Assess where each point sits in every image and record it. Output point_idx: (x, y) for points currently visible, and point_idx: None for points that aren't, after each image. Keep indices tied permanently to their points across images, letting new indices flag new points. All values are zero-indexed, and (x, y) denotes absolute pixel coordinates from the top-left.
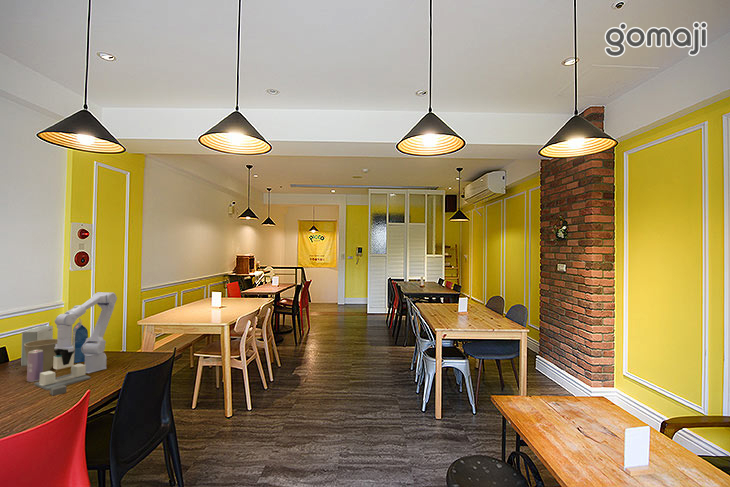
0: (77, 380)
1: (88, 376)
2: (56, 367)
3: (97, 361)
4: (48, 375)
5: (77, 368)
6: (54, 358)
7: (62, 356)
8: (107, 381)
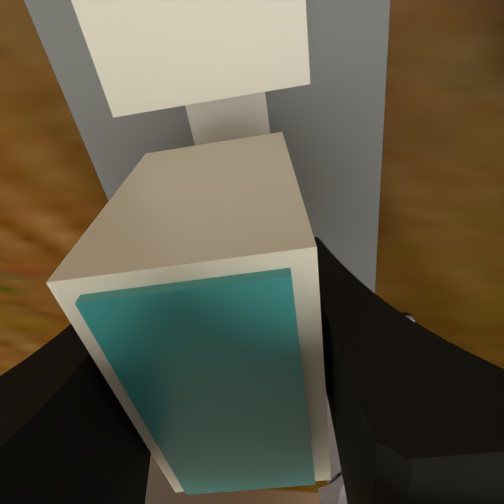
0: None
1: None
2: (156, 161)
3: None
4: (79, 6)
5: None
6: (245, 226)
7: (18, 379)
8: (18, 349)
